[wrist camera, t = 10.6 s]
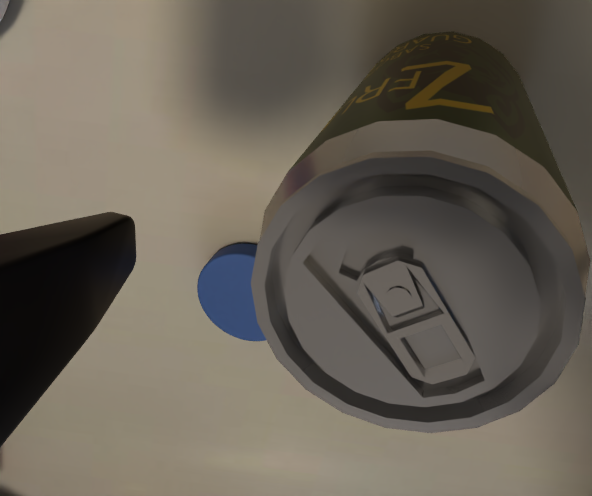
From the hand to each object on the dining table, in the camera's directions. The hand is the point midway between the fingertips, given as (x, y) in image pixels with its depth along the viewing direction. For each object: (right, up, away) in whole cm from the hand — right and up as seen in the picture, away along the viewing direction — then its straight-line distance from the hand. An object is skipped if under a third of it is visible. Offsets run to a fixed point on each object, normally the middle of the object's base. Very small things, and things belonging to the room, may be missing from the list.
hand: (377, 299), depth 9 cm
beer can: (+4, +5, +10) cm, 12 cm away
